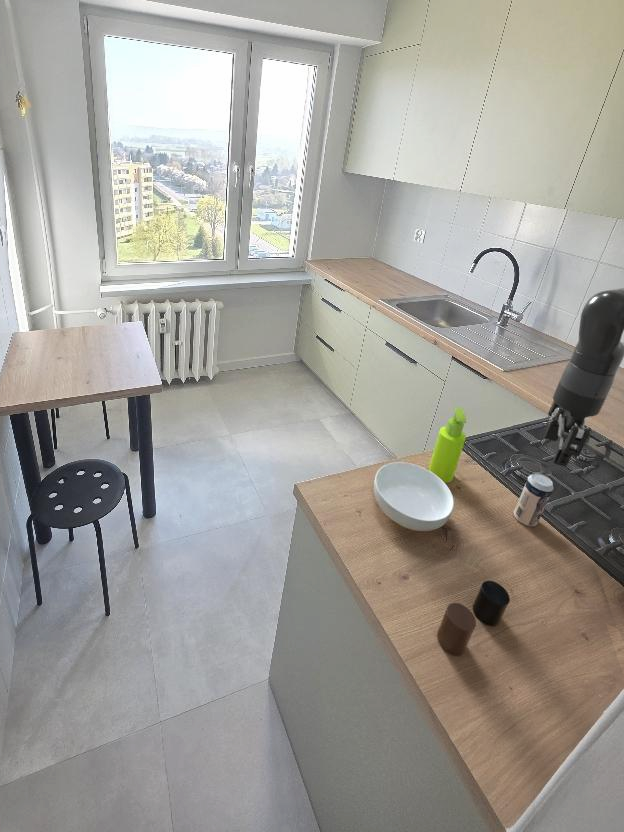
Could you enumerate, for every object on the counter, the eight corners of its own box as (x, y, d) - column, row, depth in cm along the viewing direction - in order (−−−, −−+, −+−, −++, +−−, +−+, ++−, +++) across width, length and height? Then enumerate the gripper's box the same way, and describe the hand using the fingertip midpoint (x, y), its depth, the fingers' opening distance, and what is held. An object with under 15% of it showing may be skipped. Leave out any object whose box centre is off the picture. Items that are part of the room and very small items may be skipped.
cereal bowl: (356, 491, 101) (360, 469, 99) (411, 477, 107) (417, 455, 104) (402, 552, 87) (409, 528, 84) (463, 532, 92) (472, 508, 89)
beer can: (536, 531, 93) (554, 491, 88) (511, 520, 96) (528, 480, 91) (537, 517, 97) (555, 478, 92) (514, 507, 99) (530, 468, 94)
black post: (498, 607, 77) (508, 586, 75) (501, 631, 74) (511, 609, 71) (472, 597, 79) (480, 576, 76) (473, 619, 75) (482, 598, 73)
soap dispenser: (429, 481, 105) (448, 417, 97) (427, 463, 112) (445, 401, 103) (454, 488, 104) (476, 423, 96) (451, 469, 110) (471, 406, 102)
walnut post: (464, 634, 73) (475, 609, 70) (465, 661, 69) (476, 635, 66) (437, 623, 74) (446, 598, 72) (436, 648, 71) (446, 622, 68)
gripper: (620, 411, 74) (585, 480, 81) (595, 374, 86) (567, 436, 93) (569, 399, 77) (540, 467, 83) (552, 365, 89) (528, 426, 95)
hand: (554, 451), depth 88 cm, fingers open, 8 cm apart
